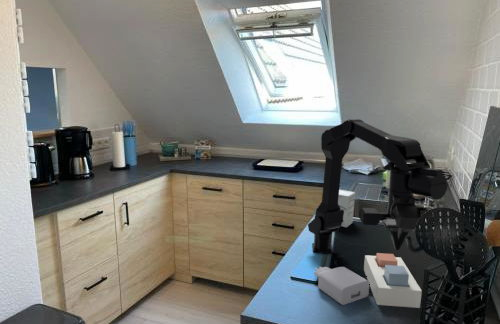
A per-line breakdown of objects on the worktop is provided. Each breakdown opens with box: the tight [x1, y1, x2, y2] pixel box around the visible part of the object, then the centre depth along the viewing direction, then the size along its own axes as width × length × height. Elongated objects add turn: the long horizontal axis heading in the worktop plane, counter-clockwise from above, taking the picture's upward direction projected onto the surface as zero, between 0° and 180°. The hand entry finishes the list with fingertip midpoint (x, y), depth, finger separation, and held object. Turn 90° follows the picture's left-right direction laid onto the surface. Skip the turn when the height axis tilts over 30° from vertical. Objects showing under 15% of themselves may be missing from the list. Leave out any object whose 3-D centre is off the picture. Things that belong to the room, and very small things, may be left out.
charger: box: [313, 266, 370, 306], centre depth 100 cm, size 5×9×15 cm
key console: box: [363, 254, 423, 309], centre depth 101 cm, size 18×10×4 cm, turn 173°
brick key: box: [375, 252, 398, 267], centre depth 105 cm, size 5×5×4 cm
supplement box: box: [338, 189, 356, 228], centre depth 147 cm, size 7×7×13 cm
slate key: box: [384, 265, 409, 287], centre depth 95 cm, size 5×5×4 cm
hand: (396, 249), depth 97 cm, fingers closed
